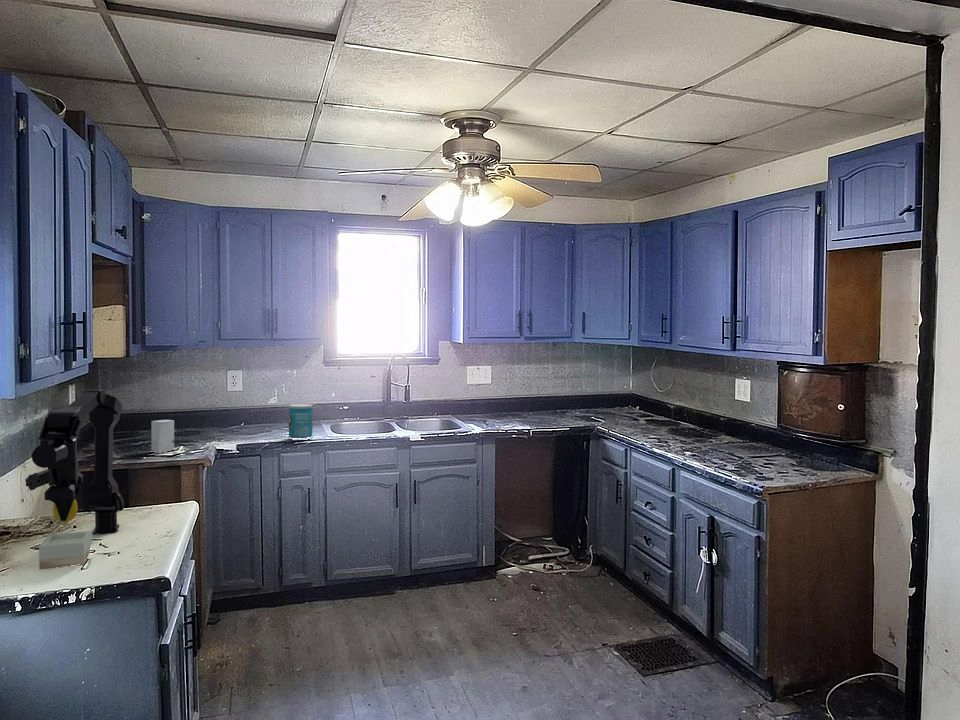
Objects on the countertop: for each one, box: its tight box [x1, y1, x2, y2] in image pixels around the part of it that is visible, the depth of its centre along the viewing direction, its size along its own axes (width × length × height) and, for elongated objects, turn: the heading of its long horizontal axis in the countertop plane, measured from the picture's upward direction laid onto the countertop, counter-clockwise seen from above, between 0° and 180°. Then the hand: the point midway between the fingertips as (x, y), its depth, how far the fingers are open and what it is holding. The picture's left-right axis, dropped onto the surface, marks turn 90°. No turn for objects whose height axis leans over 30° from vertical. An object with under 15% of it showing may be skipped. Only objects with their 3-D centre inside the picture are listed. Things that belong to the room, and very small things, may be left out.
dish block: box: [38, 530, 93, 561], centre depth 179 cm, size 10×10×4 cm
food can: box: [288, 403, 313, 438], centre depth 357 cm, size 12×12×18 cm
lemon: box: [52, 499, 79, 525], centre depth 179 cm, size 6×6×8 cm
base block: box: [38, 546, 91, 570], centre depth 179 cm, size 10×10×3 cm
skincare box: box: [150, 419, 175, 454], centre depth 317 cm, size 8×6×15 cm
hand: (65, 517), depth 179 cm, fingers closed on lemon, 5 cm apart
